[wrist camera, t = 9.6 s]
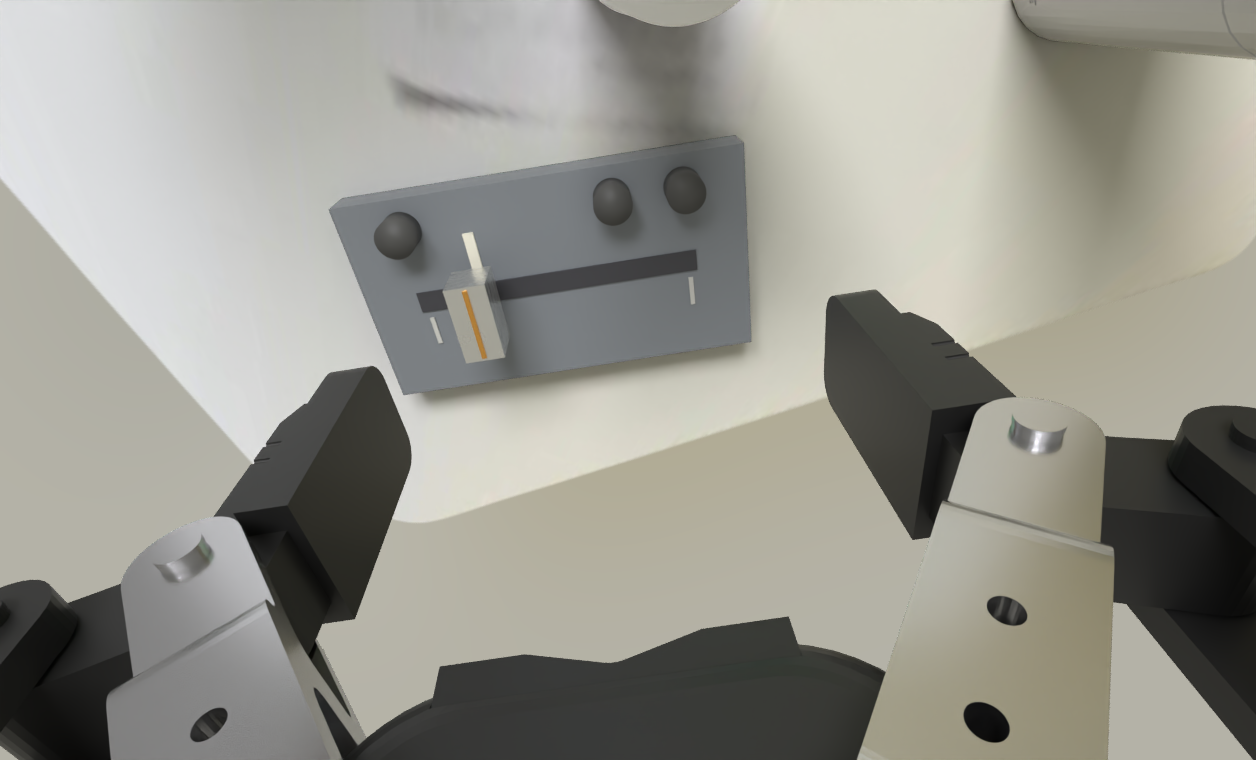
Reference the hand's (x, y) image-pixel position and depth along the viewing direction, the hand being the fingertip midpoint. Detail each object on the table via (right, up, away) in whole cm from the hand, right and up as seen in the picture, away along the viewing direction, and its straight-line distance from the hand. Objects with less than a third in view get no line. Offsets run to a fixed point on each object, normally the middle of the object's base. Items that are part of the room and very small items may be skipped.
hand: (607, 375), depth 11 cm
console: (-5, +8, +33) cm, 34 cm away
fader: (-9, +6, +30) cm, 32 cm away
